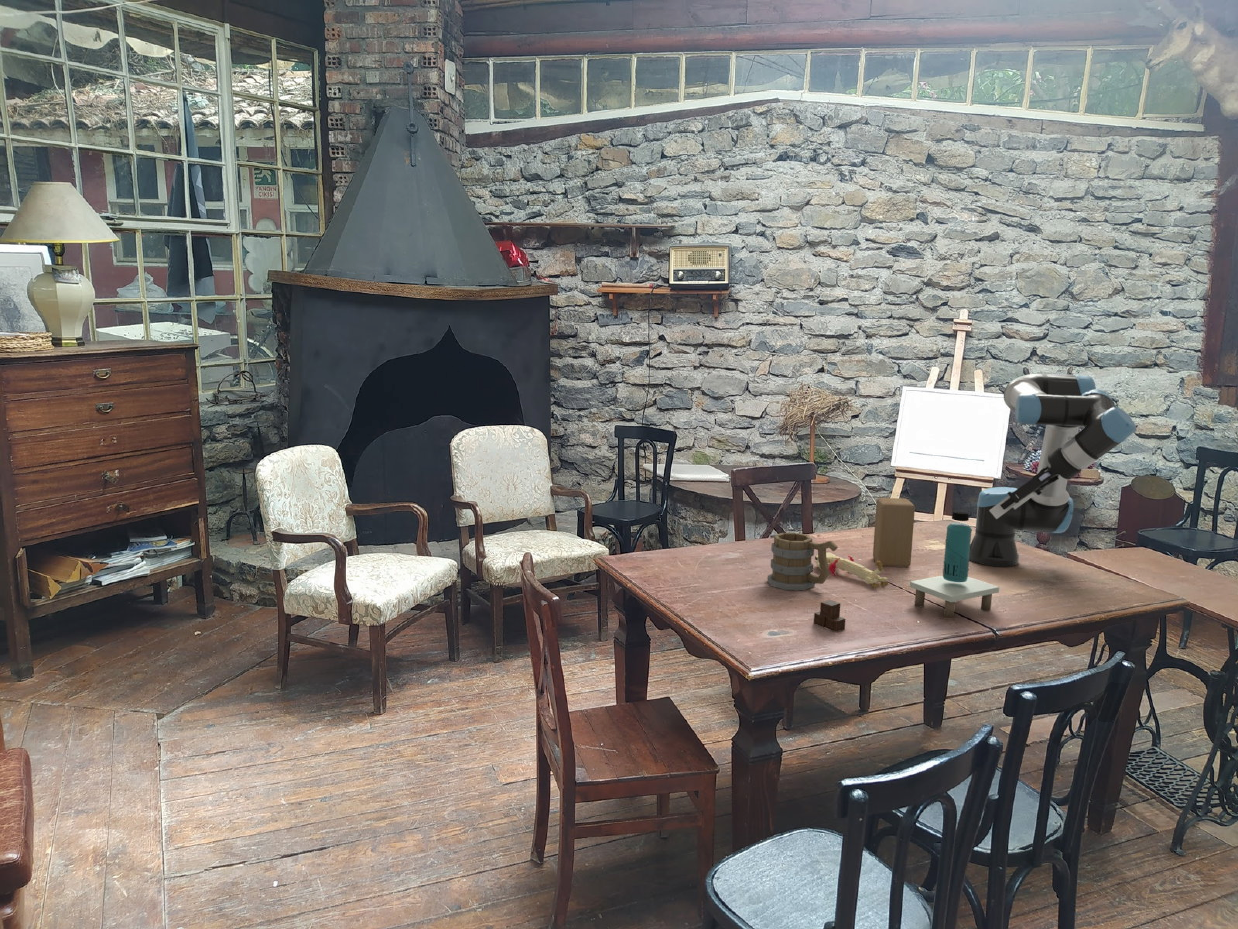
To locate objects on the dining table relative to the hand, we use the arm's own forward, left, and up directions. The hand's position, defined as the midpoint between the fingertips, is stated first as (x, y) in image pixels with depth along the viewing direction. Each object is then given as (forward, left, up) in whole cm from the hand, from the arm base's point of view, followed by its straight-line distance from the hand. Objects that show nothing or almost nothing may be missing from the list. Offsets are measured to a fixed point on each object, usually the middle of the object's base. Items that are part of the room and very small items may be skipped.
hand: (1002, 509), depth 225 cm
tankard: (+29, -42, -29) cm, 58 cm away
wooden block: (-12, -48, -29) cm, 57 cm away
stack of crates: (+42, -14, -30) cm, 53 cm away
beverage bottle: (+4, -10, -22) cm, 25 cm away
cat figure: (+10, -43, -29) cm, 53 cm away
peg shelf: (+4, -10, -29) cm, 30 cm away
